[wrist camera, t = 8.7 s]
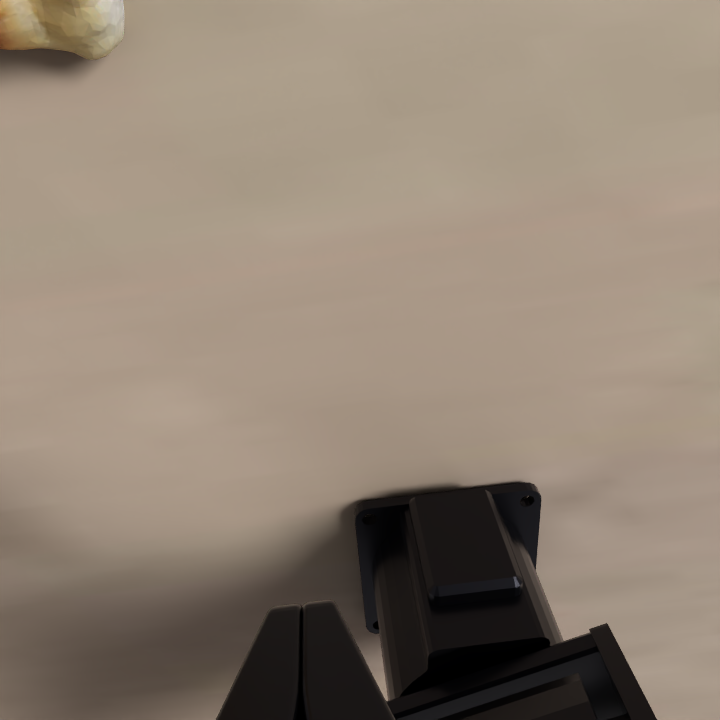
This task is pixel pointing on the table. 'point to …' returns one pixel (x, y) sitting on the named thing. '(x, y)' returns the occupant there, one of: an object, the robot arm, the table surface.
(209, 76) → the table surface
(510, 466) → the table surface
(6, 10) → the pastry
